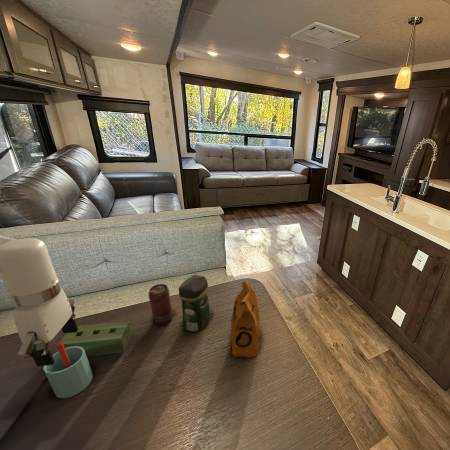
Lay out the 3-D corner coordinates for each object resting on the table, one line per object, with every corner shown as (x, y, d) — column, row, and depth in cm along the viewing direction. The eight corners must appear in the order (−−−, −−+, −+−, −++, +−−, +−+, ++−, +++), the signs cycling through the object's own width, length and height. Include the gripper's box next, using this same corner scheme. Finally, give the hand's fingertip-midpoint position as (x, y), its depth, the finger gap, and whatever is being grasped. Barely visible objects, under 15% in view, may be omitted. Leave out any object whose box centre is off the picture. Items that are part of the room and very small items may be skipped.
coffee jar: (194, 311, 95) (190, 270, 88) (213, 315, 94) (211, 274, 87) (179, 330, 86) (173, 287, 79) (200, 334, 85) (195, 291, 78)
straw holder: (124, 352, 77) (120, 338, 75) (63, 359, 73) (57, 344, 71) (132, 334, 83) (129, 320, 81) (77, 340, 79) (71, 326, 77)
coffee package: (227, 360, 78) (225, 305, 69) (233, 329, 89) (232, 278, 80) (259, 359, 79) (261, 305, 70) (261, 329, 90) (263, 279, 81)
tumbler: (47, 400, 63) (35, 375, 59) (66, 372, 70) (56, 348, 66) (83, 395, 65) (73, 370, 61) (98, 368, 72) (90, 344, 68)
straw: (70, 384, 66) (54, 346, 61) (73, 380, 67) (57, 342, 62) (75, 383, 67) (60, 345, 61) (78, 379, 68) (63, 342, 62)
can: (149, 321, 89) (143, 290, 83) (165, 311, 94) (160, 281, 88) (160, 329, 86) (155, 297, 81) (176, 317, 91) (172, 287, 86)
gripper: (43, 271, 62) (63, 322, 69) (-20, 323, 47) (13, 383, 53) (79, 269, 64) (94, 320, 70) (29, 318, 48) (55, 377, 55)
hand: (59, 347), depth 62 cm, fingers open, 9 cm apart
